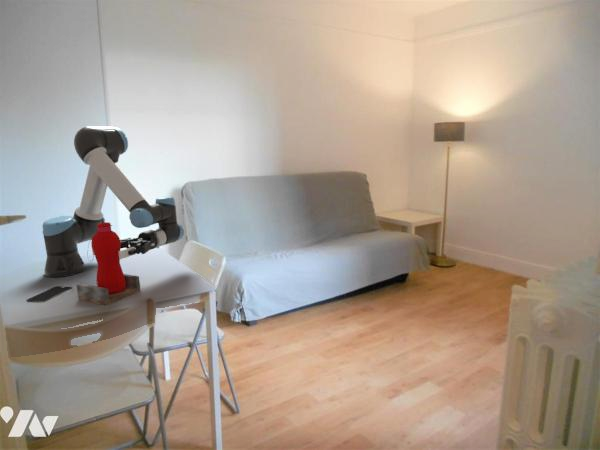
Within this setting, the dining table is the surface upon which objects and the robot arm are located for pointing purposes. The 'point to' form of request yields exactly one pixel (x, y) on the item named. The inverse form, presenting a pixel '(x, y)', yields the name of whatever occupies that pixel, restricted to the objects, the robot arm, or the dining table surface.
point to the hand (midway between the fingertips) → (106, 253)
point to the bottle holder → (102, 295)
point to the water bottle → (108, 259)
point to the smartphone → (49, 294)
